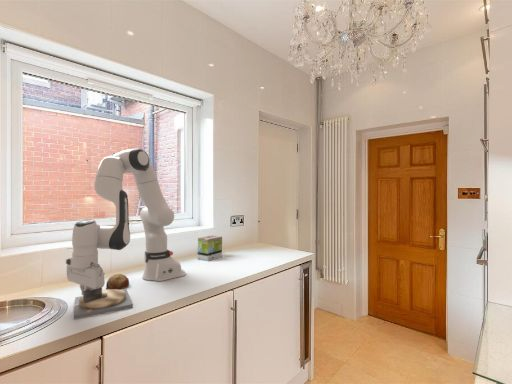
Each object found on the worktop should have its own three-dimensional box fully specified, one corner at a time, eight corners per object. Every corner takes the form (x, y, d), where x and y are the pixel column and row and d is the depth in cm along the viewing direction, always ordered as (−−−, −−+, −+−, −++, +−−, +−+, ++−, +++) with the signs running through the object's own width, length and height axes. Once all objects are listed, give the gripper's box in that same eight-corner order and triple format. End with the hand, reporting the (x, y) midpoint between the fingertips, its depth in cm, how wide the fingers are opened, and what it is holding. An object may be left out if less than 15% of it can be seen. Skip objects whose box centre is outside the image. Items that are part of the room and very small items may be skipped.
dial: (111, 290, 128) (111, 277, 128) (134, 297, 119) (134, 284, 119) (70, 302, 114) (70, 288, 114) (93, 312, 105) (93, 297, 105)
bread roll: (105, 294, 138) (98, 281, 135) (123, 280, 145) (117, 267, 142) (117, 298, 132) (109, 285, 129) (135, 283, 140) (128, 270, 137)
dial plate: (126, 292, 130) (126, 288, 130) (132, 307, 113) (132, 303, 113) (75, 300, 120) (75, 296, 120) (73, 319, 103) (73, 314, 103)
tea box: (208, 261, 186) (208, 239, 186) (197, 259, 192) (197, 237, 192) (222, 256, 199) (222, 236, 199) (211, 255, 205) (211, 234, 204)
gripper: (108, 262, 110) (108, 297, 110) (79, 256, 120) (79, 288, 120) (93, 266, 104) (93, 303, 105) (63, 259, 114) (63, 293, 115)
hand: (85, 295), depth 113 cm, fingers closed
